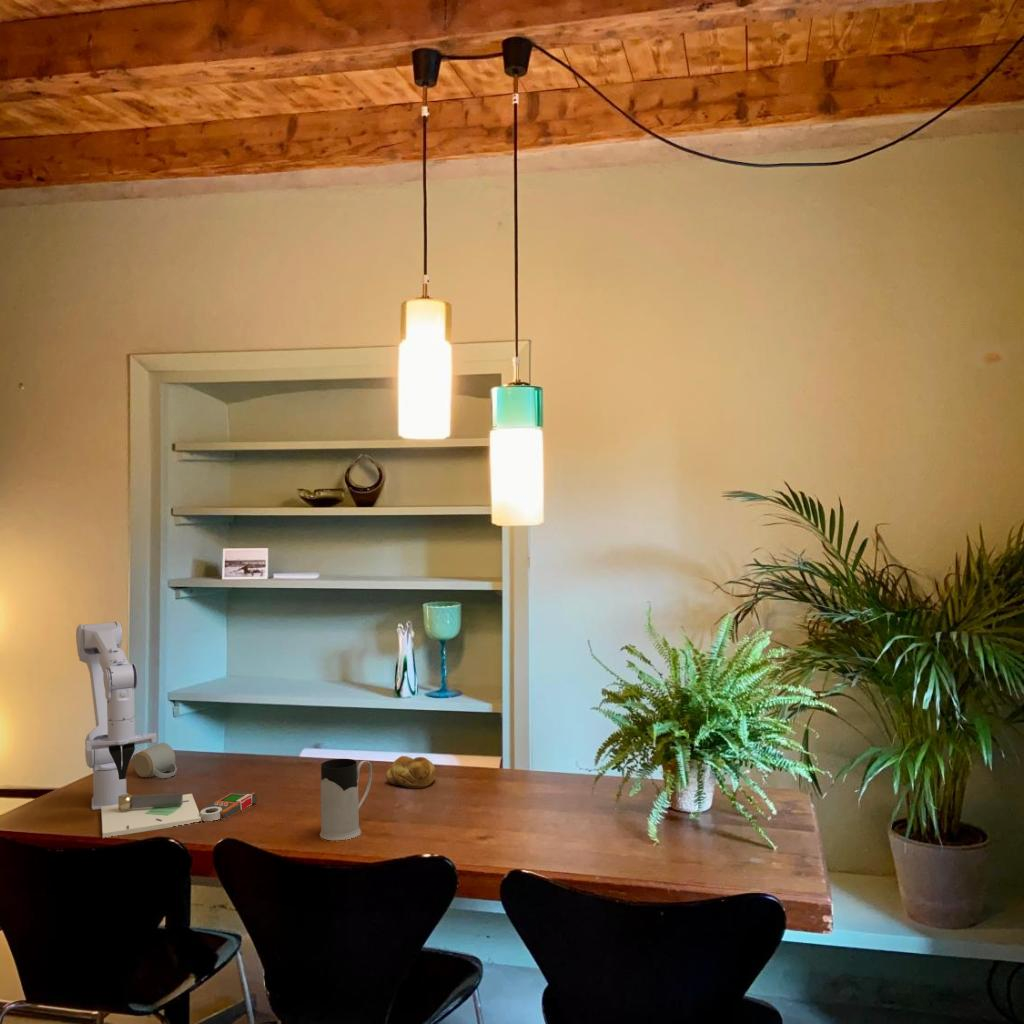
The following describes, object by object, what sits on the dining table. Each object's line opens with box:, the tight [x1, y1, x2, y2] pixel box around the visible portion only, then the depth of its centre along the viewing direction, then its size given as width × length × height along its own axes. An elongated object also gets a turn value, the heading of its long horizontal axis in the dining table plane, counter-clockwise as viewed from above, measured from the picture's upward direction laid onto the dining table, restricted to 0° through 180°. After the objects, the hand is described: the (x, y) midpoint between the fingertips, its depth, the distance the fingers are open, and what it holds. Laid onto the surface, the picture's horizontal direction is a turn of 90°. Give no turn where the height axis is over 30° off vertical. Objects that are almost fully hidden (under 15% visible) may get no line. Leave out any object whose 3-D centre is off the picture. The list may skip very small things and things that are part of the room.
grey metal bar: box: [118, 792, 184, 811], centre depth 206 cm, size 14×3×3 cm, turn 98°
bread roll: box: [385, 755, 436, 789], centre depth 225 cm, size 13×10×8 cm
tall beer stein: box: [319, 758, 373, 841], centre depth 192 cm, size 9×14×15 cm, turn 146°
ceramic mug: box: [133, 742, 178, 779], centre depth 237 cm, size 11×8×8 cm
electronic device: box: [199, 790, 258, 821], centre depth 206 cm, size 7×3×15 cm
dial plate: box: [100, 793, 202, 839], centre depth 204 cm, size 20×20×1 cm
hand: (122, 778), depth 202 cm, fingers closed
